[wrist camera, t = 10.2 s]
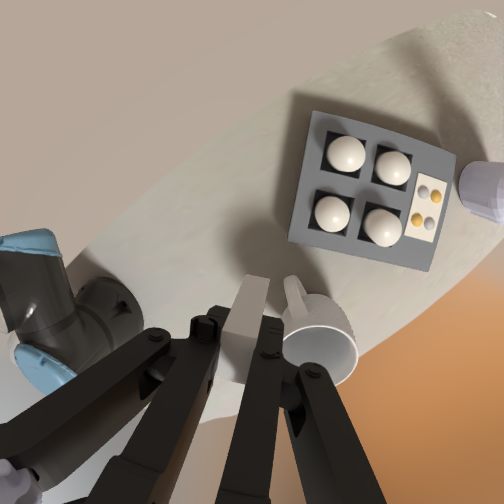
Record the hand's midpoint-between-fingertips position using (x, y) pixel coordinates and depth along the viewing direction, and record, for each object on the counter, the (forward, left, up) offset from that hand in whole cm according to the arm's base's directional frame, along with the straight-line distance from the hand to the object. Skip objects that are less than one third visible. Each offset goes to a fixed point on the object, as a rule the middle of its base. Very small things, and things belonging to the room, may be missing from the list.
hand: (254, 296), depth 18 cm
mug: (+8, -13, -27) cm, 31 cm away
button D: (+14, +11, -25) cm, 31 cm away
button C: (+14, +3, -24) cm, 28 cm away
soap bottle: (+32, +13, -27) cm, 44 cm away
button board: (+13, +7, -26) cm, 30 cm away
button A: (+7, +3, -25) cm, 27 cm away
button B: (+7, +11, -24) cm, 27 cm away
